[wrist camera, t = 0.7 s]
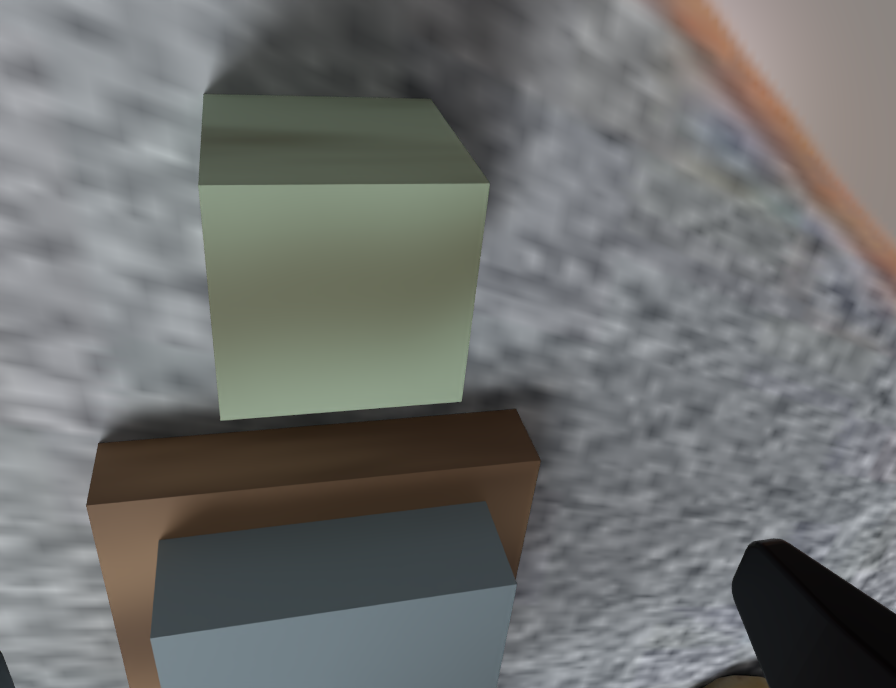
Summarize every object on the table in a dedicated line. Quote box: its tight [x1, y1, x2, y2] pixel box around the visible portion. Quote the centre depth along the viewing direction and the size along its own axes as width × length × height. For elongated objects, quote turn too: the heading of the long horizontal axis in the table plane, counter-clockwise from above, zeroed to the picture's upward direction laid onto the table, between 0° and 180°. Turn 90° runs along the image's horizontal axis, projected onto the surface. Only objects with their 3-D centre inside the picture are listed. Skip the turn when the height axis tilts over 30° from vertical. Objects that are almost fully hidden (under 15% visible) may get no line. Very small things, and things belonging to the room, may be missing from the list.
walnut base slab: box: [86, 409, 541, 688], centre depth 25 cm, size 12×12×3 cm
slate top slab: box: [150, 501, 517, 688], centre depth 23 cm, size 9×9×3 cm
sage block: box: [198, 94, 490, 421], centre depth 17 cm, size 5×5×5 cm
